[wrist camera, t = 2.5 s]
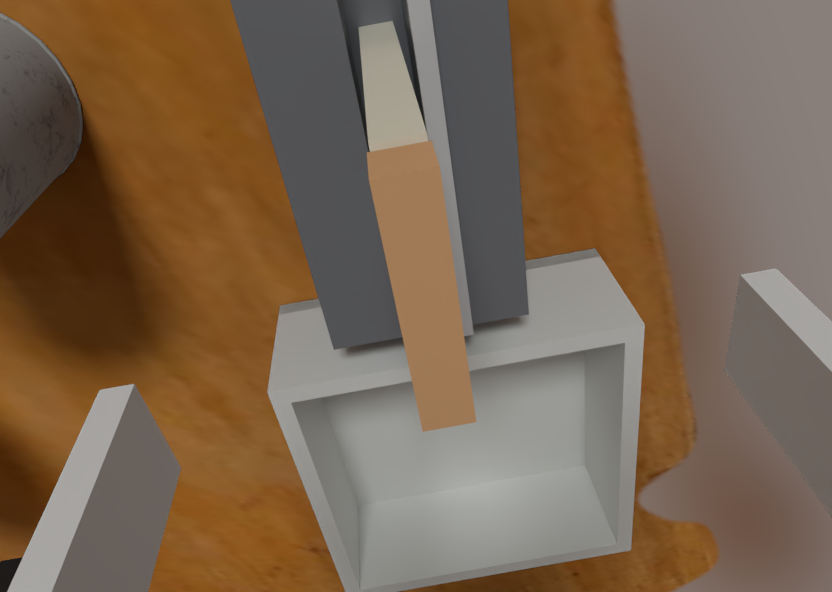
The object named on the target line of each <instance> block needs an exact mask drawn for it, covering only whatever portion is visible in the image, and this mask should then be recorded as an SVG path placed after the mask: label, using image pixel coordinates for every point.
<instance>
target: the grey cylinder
mask: <svg viewBox="0 0 832 592" xmlns="http://www.w3.org/2000/svg"><path fill="white" fill-rule="evenodd" d="M82 131H83V117H82V111H81V104H80V100H79V98H78V95H77V93H76V90H75V87H74V85H73V82H72V80H71V78H70V77H69V75H68V74H67V72H66V70H65V69H64V67H63V66H62V64H61V62H60V61H59V59H58V58H57V57H56V56H55V55H54V54H53V53H52V52H51V51H50V49H49V48H48V47H47V46H46V45H45V44H44V43H43V42H42V41H41V40H40V39H39V38H38V37H36V36H35V35H34V34H33V33H31V32H30V31H29V30H28V29H26V28H25V27H24V26H22V25H21V24H20V23H18V22H17V21H15V20H13V19H11V18H9V17H7V16H5V15H4V14H2V13H0V238H1V237H2V236H3V235H4V234H5V233H6V232H7V231H8V230H9V229H10V228H11V226H12V225H13V224H14V223H15V222H16V221H17V220H18V219H19V218H20V217H21V216H22V214H23V213H24V212H25V211H26V210H27V209H28V208H29V207H30V206H31V205H32V204H33V202H34V201H35V200H36V199H37V198H38V197H39V196H40V195H41V194H42V193H43V192H44V191H45V189H46V188H47V187H48V186H49V185H50V184H51V183H52V182H53V181H54V180H55V179H56V178H57V177H59V176H60V175H61V174H63V173H64V172H65V170H66V169H67V168H68V167H69V165H70V164H71V163H72V162H73V160H74V159H75V157H76V154H77V152H78V149H79V147H80V144H81V141H82Z"/></svg>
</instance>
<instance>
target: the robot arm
mask: <svg viewBox="0 0 832 592" xmlns="http://www.w3.org/2000/svg"><path fill="white" fill-rule="evenodd" d="M724 371H725V373H726V374H727V375H728V377H729V378H730V379H731V381H732V382H733V384H734V385H735V386H736V388H737V389H738V390H739V392H740V393H741V394H742V396H743V397H744V398H745V400H746V401H747V402H748V404H749V405H750V406H751V408H752V409H753V410H754V412H755V413H756V415H757V416H758V417H759V419H760V420H761V422H762V423H763V424H764V426H765V427H766V428H767V430H768V431H769V432H770V434H771V435H772V436H773V438H774V439H775V440H776V442H777V443H778V445H779V446H780V447H781V449H782V450H783V451H784V453H785V454H786V455H787V457H788V458H789V460H790V461H791V462H792V464H793V465H794V466H795V468H796V469H797V470H798V472H799V473H800V474H801V476H802V477H803V479H804V480H805V481H806V483H807V484H808V485H809V487H810V488H811V489H812V491H813V492H814V493H815V495H816V496H817V498H818V499H819V500H820V502H821V503H822V504H823V506H824V507H825V508H826V510H827V511H828V512H829V514H830V515H831V517H832V322H831V321H830V320H829V319H828V318H827V317H826V316H825V315H824V314H823V313H822V312H821V311H820V310H819V309H818V308H817V307H816V306H815V305H814V304H813V303H812V302H810V301H809V299H807V298H806V297H805V296H804V295H803V294H802V293H801V292H800V291H799V290H798V289H797V288H796V287H795V286H794V285H793V284H792V283H791V282H789V280H788V279H787V278H786V277H784V276H783V275H782V274H781V273H780V272H779V271H778V270H777V269H770V270H765V271H759V272H754V273H749V274H743V275H740V279H739V286H738V292H737V298H736V304H735V310H734V316H733V322H732V328H731V334H730V340H729V346H728V352H727V358H726V364H725V370H724ZM180 470H181V467H180V465H179V463H178V461H177V459H176V458H175V456H174V454H173V452H172V450H171V449H170V447H169V445H168V443H167V441H166V440H165V438H164V436H163V434H162V432H161V431H160V429H159V427H158V425H157V423H156V422H155V420H154V418H153V416H152V414H151V413H150V411H149V409H148V407H147V405H146V404H145V402H144V400H143V398H142V396H141V395H140V393H139V391H138V389H137V387H136V386H135V384H131V385H125V386H119V387H114V388H108V389H103V390H99V392H98V395H97V397H96V399H95V401H94V403H93V405H92V408H91V410H90V412H89V414H88V416H87V419H86V421H85V423H84V425H83V427H82V429H81V432H80V434H79V436H78V438H77V440H76V443H75V445H74V447H73V449H72V451H71V453H70V456H69V458H68V460H67V462H66V464H65V467H64V469H63V471H62V473H61V475H60V477H59V480H58V482H57V484H56V486H55V488H54V491H53V493H52V495H51V497H50V499H49V501H48V504H47V506H46V508H45V510H44V512H43V514H42V517H41V519H40V521H39V523H38V525H37V528H36V530H35V532H34V534H33V536H32V538H31V541H30V543H29V545H28V547H27V549H26V552H25V554H24V556H23V557H22V558H16V559H11V560H5V561H1V562H0V592H148V590H149V586H150V582H151V578H152V575H153V571H154V567H155V563H156V560H157V556H158V552H159V548H160V545H161V541H162V537H163V533H164V530H165V526H166V522H167V518H168V515H169V511H170V507H171V503H172V500H173V496H174V492H175V488H176V485H177V481H178V477H179V474H180Z"/></svg>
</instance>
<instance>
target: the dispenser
mask: <svg viewBox="0 0 832 592" xmlns="http://www.w3.org/2000/svg"><path fill="white" fill-rule="evenodd" d="M230 1H231V4H232V7H233V11H234V14H235V18H236V21H237V24H238V28H239V31H240V35H241V38H242V41H243V45H244V48H245V51H246V55H247V58H248V62H249V65H250V68H251V72H252V75H253V78H254V82H255V85H256V89H257V92H258V95H259V99H260V102H261V106H262V109H263V112H264V116H265V119H266V122H267V126H268V129H269V133H270V136H271V139H272V143H273V146H274V149H275V153H276V156H277V160H278V163H279V166H280V170H281V173H282V176H283V180H284V183H285V187H286V190H287V193H288V197H289V200H290V204H291V207H292V210H293V214H294V217H295V220H296V224H297V227H298V231H299V234H300V237H301V241H302V244H303V247H304V251H305V254H306V258H307V261H308V264H309V268H310V271H311V274H312V278H313V281H314V285H315V288H316V291H317V295H318V298H319V302H320V305H321V308H322V312H323V315H324V318H325V322H326V325H327V329H328V332H329V335H330V339H331V342H332V345H333V349H334V350H335V349H341V348H346V347H352V346H357V345H363V344H369V343H374V342H380V341H385V340H391V339H396V338H402V333H401V328H400V323H399V319H398V314H397V309H396V304H395V300H394V295H393V290H392V286H391V281H390V276H389V272H388V267H387V262H386V258H385V253H384V248H383V244H382V239H381V234H380V230H379V225H378V220H377V216H376V211H375V206H374V201H373V197H372V192H371V187H370V183H369V176H368V163H367V152H370V150H369V145H368V135H367V123H366V111H365V99H364V87H363V75H362V63H361V52H360V40H359V28H358V27H362V26H368V25H373V24H378V23H384V22H389V21H393V24H394V27H395V31H396V34H397V37H398V40H399V44H400V47H401V50H402V53H403V57H404V60H405V63H406V66H407V70H408V73H409V76H410V79H411V83H412V86H413V89H414V93H415V96H416V99H417V102H418V106H419V109H420V112H421V115H422V119H423V122H424V125H425V128H426V132H427V137H428V141H431V140H432V143H433V146H434V150H435V153H436V156H437V159H438V162H439V165H440V171H441V178H442V185H443V192H444V199H445V206H446V213H447V220H448V227H449V234H450V241H451V248H452V255H453V262H454V269H455V276H456V283H457V290H458V297H459V304H460V311H461V318H462V325H463V332H464V336H469V335H474V332H473V325H474V324H479V323H485V322H490V321H496V320H501V319H507V318H512V317H518V316H523V315H529V308H528V293H527V279H526V264H525V249H524V235H523V220H522V205H521V190H520V176H519V161H518V146H517V132H516V117H515V102H514V88H513V73H512V58H511V43H510V29H509V14H508V0H230Z"/></svg>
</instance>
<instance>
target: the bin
mask: <svg viewBox="0 0 832 592" xmlns="http://www.w3.org/2000/svg"><path fill="white" fill-rule="evenodd" d="M525 264H526V279H527V293H528V308H529V315H523V316H518V317H512V318H507V319H501V320H496V321H490V322H485V323H479V324H474V325H473V332H474V335H469V336H464V339H465V346H466V353H467V360H468V367H469V374H470V381H471V388H472V395H473V402H474V409H475V416H476V422H475V423H469V424H463V425H458V426H452V427H447V428H441V429H436V430H430V431H424V432H423V431H422V426H421V422H420V417H419V412H418V408H417V403H416V398H415V393H414V389H413V384H412V379H411V375H410V370H409V365H408V361H407V356H406V351H405V347H404V342H403V337H402V338H396V339H391V340H385V341H380V342H374V343H369V344H363V345H357V346H352V347H346V348H341V349H335V350H334V349H333V345H332V342H331V339H330V335H329V332H328V329H327V325H326V322H325V318H324V315H323V312H322V308H321V305H320V302H319V299H314V300H308V301H303V302H297V303H292V304H286V305H281V306H280V310H279V317H278V323H277V330H276V337H275V344H274V351H273V357H272V364H271V371H270V378H269V385H268V392H267V393H268V396H269V398H270V401H271V403H272V406H273V408H274V411H275V413H276V416H277V418H278V421H279V424H280V426H281V429H282V431H283V434H284V436H285V439H286V441H287V444H288V447H289V449H290V452H291V454H292V457H293V459H294V462H295V464H296V467H297V470H298V472H299V475H300V477H301V480H302V482H303V485H304V487H305V490H306V492H307V495H308V498H309V500H310V503H311V505H312V508H313V510H314V513H315V515H316V518H317V521H318V523H319V526H320V528H321V531H322V533H323V536H324V538H325V541H326V544H327V546H328V549H329V551H330V554H331V556H332V559H333V561H334V564H335V566H336V569H337V572H338V574H339V577H340V579H341V582H342V584H343V587H344V589H345V592H398V591H404V590H409V589H415V588H421V587H426V586H432V585H438V584H443V583H449V582H455V581H460V580H466V579H471V578H477V577H483V576H488V575H494V574H500V573H505V572H511V571H517V570H522V569H528V568H534V567H539V566H545V565H551V564H556V563H562V562H568V561H573V560H579V559H585V558H590V557H596V556H602V555H607V554H613V553H619V552H624V551H630V550H631V542H632V525H633V509H634V492H635V476H636V460H637V443H638V427H639V410H640V394H641V378H642V361H643V345H644V329H645V324H644V323H643V321H642V319H641V318H640V316H639V315H638V313H637V312H636V310H635V309H634V307H633V306H632V304H631V303H630V301H629V300H628V298H627V297H626V295H625V293H624V292H623V290H622V289H621V287H620V286H619V284H618V283H617V281H616V280H615V278H614V277H613V275H612V274H611V272H610V270H609V269H608V267H607V266H606V264H605V263H604V261H603V260H602V258H601V257H600V255H599V254H598V252H597V251H596V249H595V248H594V249H589V250H583V251H578V252H572V253H567V254H561V255H556V256H550V257H545V258H539V259H534V260H528V261H525Z"/></svg>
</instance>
